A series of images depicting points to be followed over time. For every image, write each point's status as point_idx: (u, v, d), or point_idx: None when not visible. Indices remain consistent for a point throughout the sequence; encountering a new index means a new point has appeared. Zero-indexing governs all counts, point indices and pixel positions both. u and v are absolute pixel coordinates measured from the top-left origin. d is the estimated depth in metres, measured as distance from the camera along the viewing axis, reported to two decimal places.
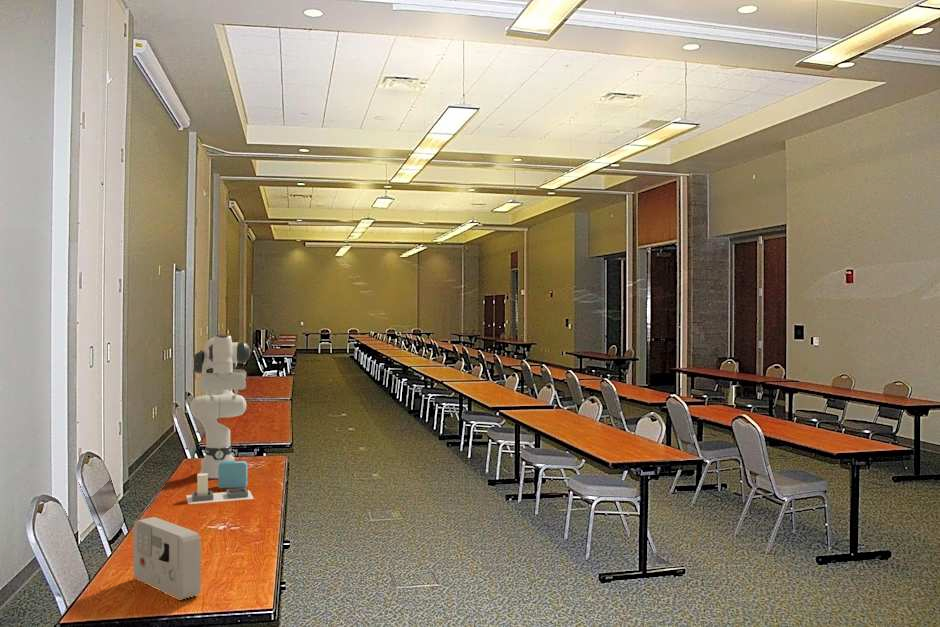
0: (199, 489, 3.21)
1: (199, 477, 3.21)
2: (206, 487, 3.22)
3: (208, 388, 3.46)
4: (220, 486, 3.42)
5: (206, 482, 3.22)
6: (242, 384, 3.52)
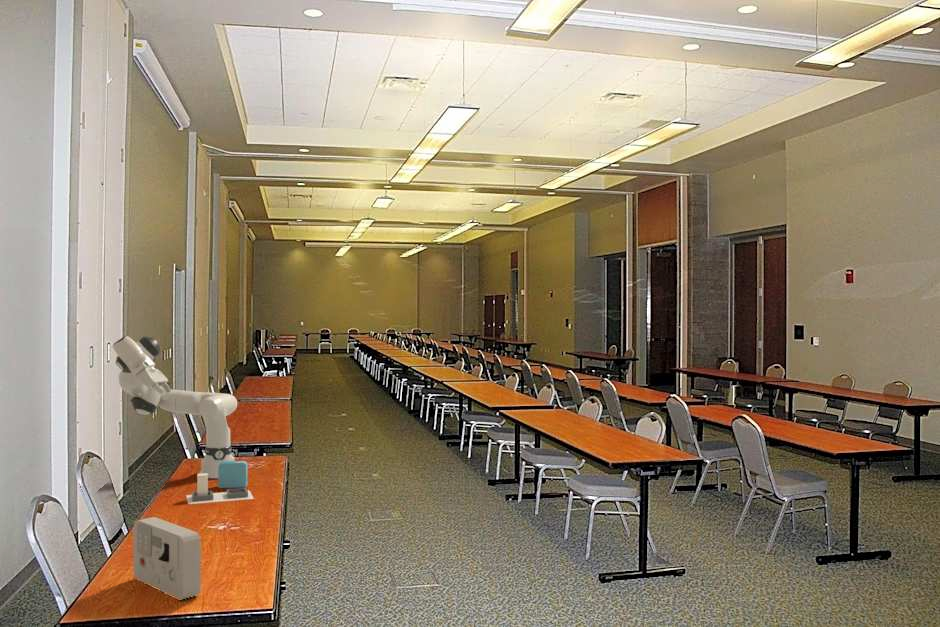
0: (199, 489, 3.21)
1: (199, 477, 3.21)
2: (206, 487, 3.22)
3: (155, 380, 3.20)
4: (220, 486, 3.42)
5: (206, 482, 3.22)
6: (165, 377, 3.35)
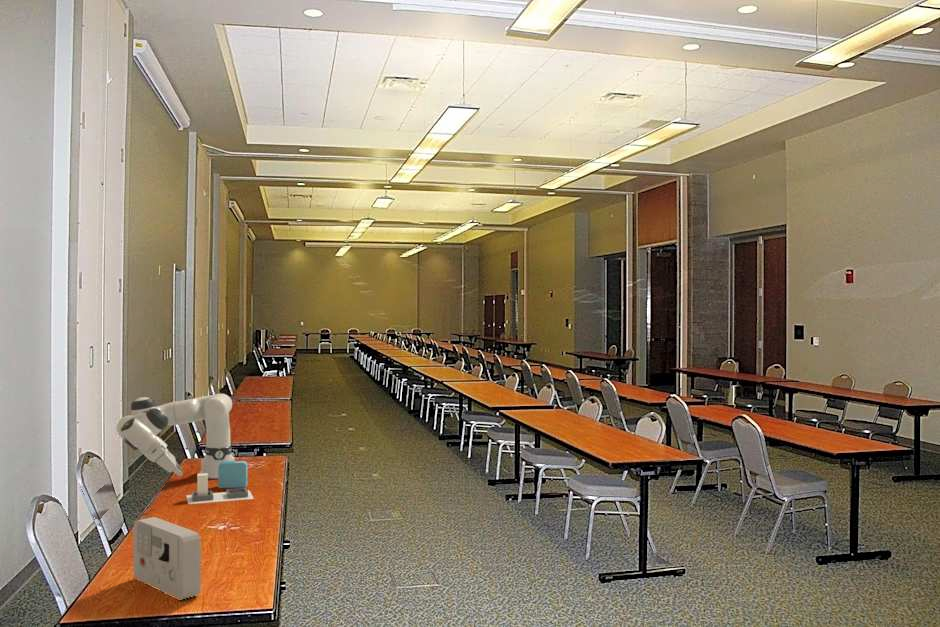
0: (199, 489, 3.21)
1: (199, 477, 3.21)
2: (206, 487, 3.22)
3: (175, 463, 3.12)
4: (220, 486, 3.42)
5: (206, 482, 3.22)
6: None
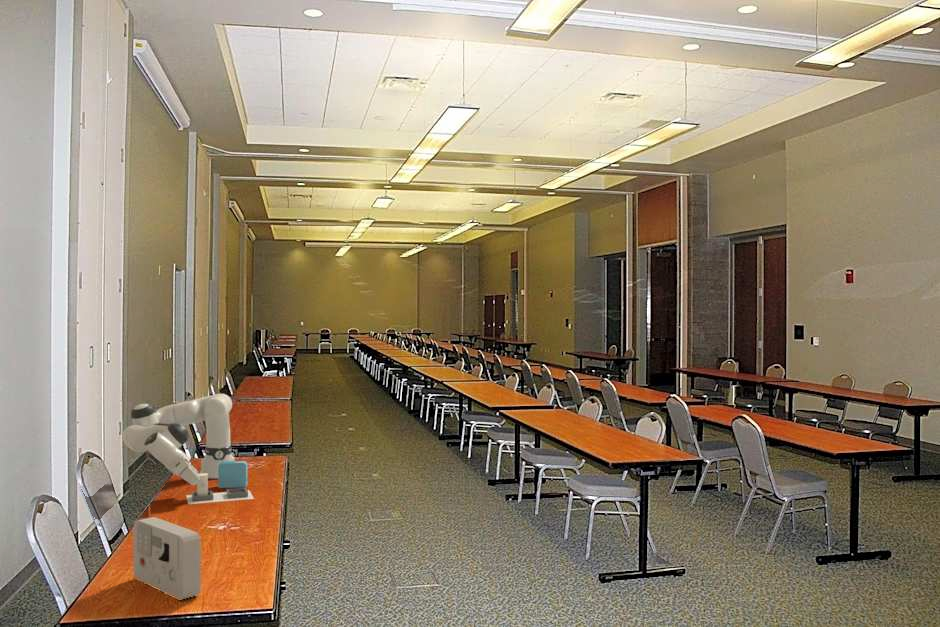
0: (199, 489, 3.21)
1: (199, 477, 3.21)
2: (206, 487, 3.22)
3: (198, 476, 3.16)
4: (220, 486, 3.42)
5: (206, 482, 3.22)
6: None
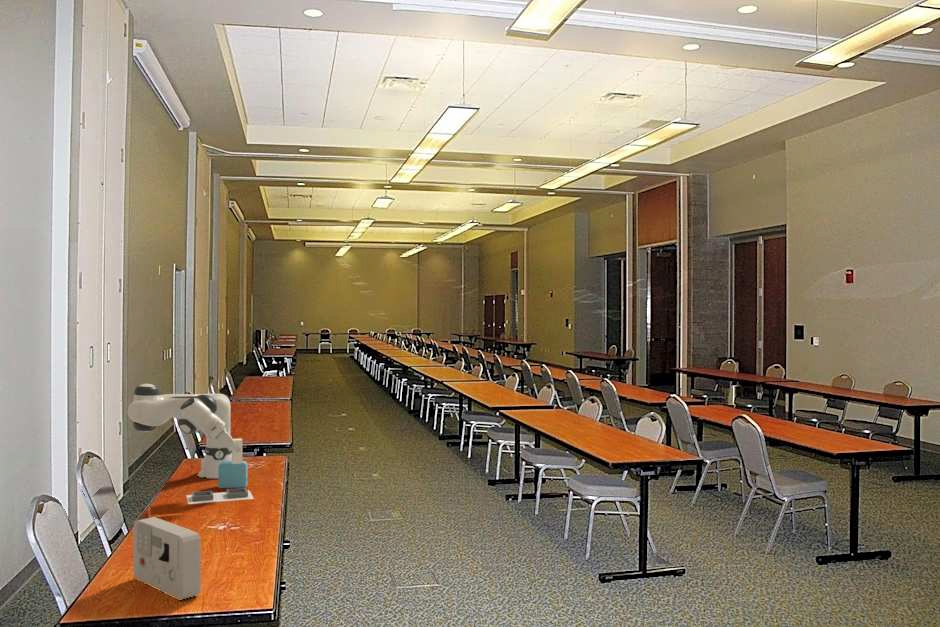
0: (234, 453, 3.26)
1: None
2: (241, 451, 3.27)
3: (233, 440, 3.22)
4: (220, 486, 3.42)
5: (241, 447, 3.27)
6: (228, 433, 3.35)
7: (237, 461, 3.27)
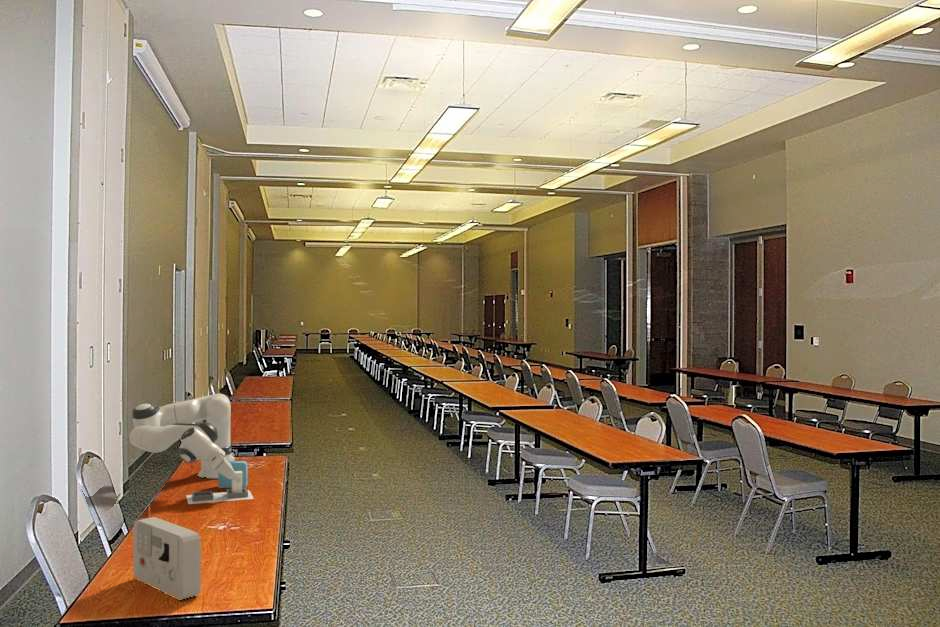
0: (234, 486, 3.26)
1: None
2: (241, 484, 3.27)
3: (233, 470, 3.22)
4: (220, 486, 3.42)
5: (241, 479, 3.27)
6: (228, 462, 3.35)
7: None
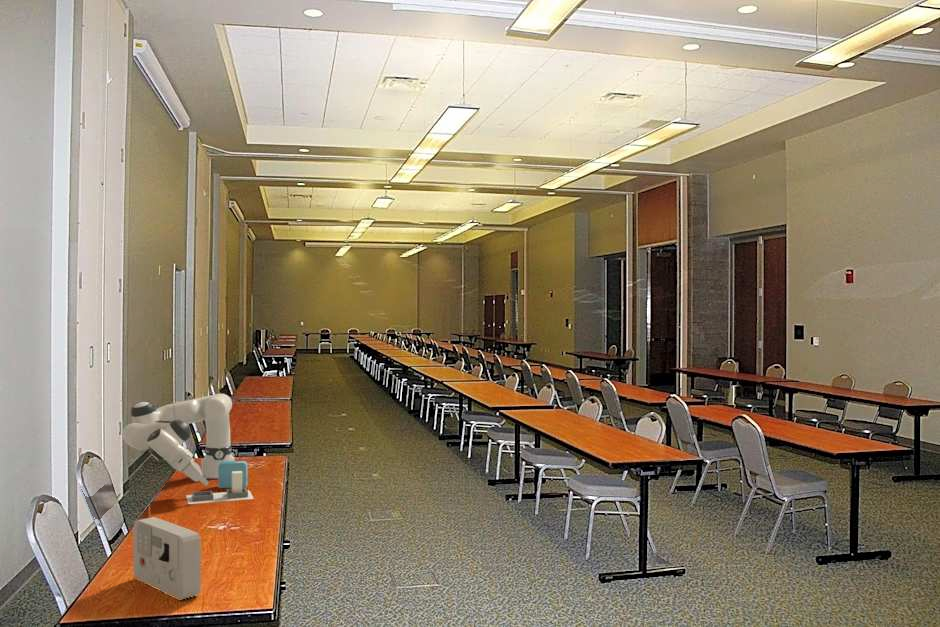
0: (234, 486, 3.26)
1: (234, 474, 3.26)
2: (241, 484, 3.27)
3: (201, 472, 3.17)
4: (220, 486, 3.42)
5: (241, 479, 3.27)
6: (197, 464, 3.30)
7: None
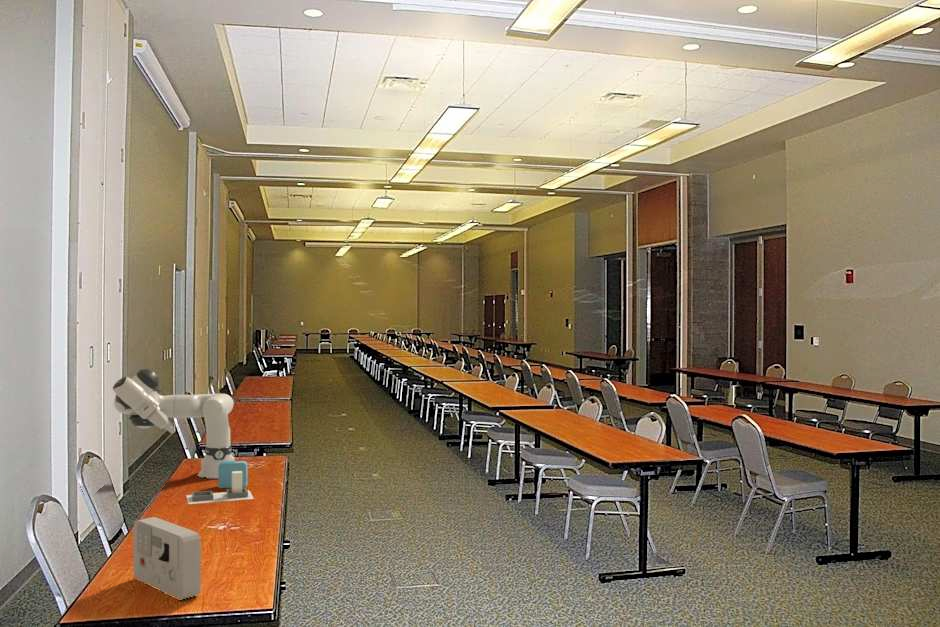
0: (234, 486, 3.26)
1: (234, 474, 3.26)
2: (241, 484, 3.27)
3: None
4: (220, 486, 3.42)
5: (241, 479, 3.27)
6: (164, 414, 3.29)
7: None
